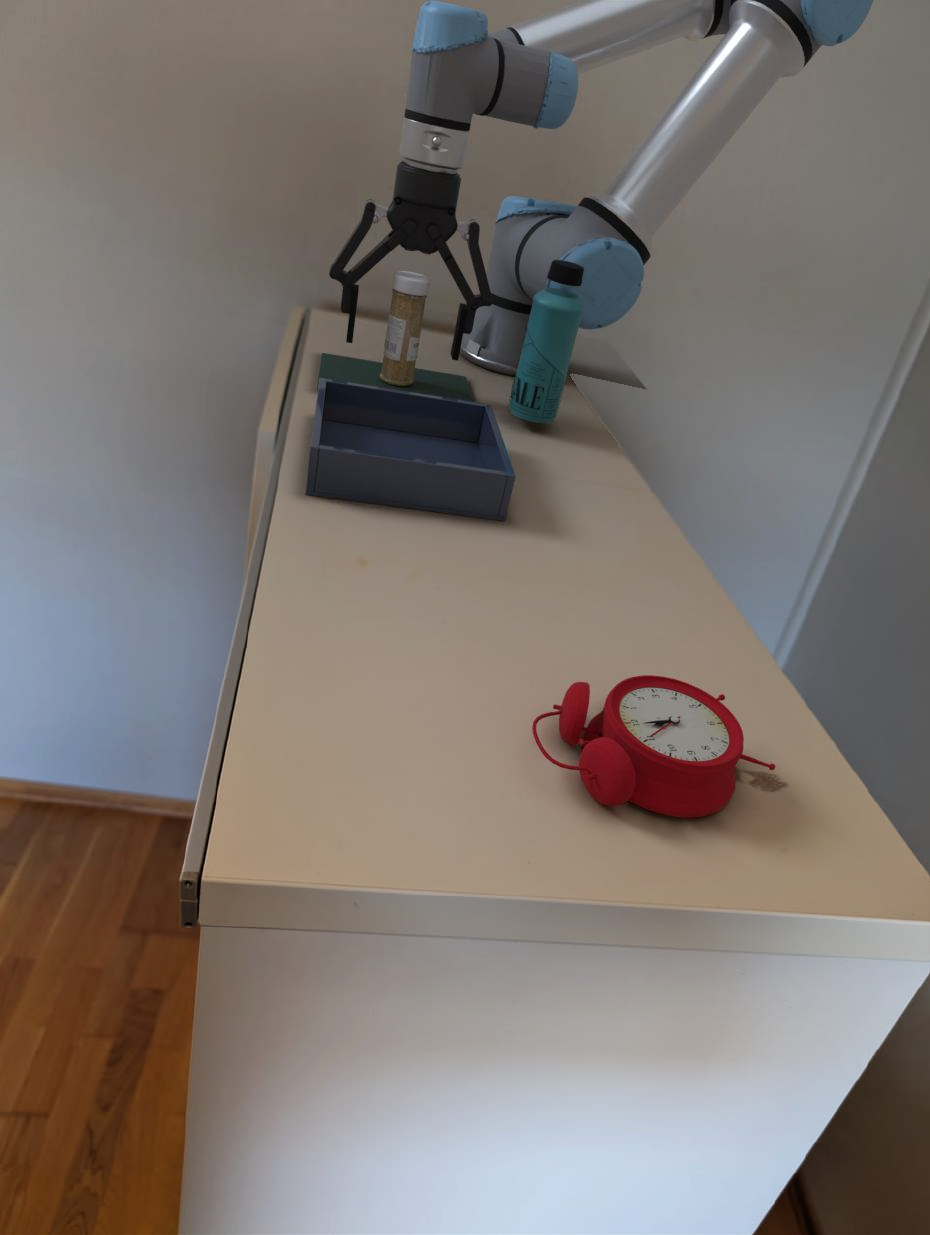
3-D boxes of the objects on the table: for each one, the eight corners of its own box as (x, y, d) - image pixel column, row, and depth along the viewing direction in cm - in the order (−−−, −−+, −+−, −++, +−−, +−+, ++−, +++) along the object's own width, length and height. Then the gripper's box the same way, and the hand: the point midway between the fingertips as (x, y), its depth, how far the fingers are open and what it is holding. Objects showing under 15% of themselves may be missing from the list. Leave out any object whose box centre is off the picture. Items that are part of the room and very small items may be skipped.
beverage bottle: (553, 421, 113) (595, 263, 103) (553, 439, 108) (597, 273, 97) (505, 410, 113) (542, 251, 103) (502, 427, 108) (540, 260, 97)
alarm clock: (798, 776, 54) (603, 738, 48) (743, 843, 57) (552, 816, 51) (721, 674, 62) (546, 631, 56) (676, 738, 65) (505, 703, 59)
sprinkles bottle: (418, 388, 112) (436, 281, 105) (385, 386, 110) (402, 278, 103) (405, 375, 115) (422, 271, 108) (373, 374, 113) (388, 267, 106)
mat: (465, 380, 121) (465, 376, 120) (475, 416, 109) (476, 412, 109) (321, 356, 117) (322, 352, 117) (316, 391, 105) (317, 387, 105)
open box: (482, 444, 102) (491, 404, 99) (505, 521, 85) (516, 476, 83) (315, 419, 98) (319, 377, 95) (305, 494, 82) (310, 446, 79)
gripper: (319, 147, 94) (302, 341, 105) (539, 192, 98) (500, 373, 110) (322, 140, 100) (305, 324, 111) (529, 183, 105) (493, 355, 116)
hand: (402, 348), depth 111 cm, fingers open, 13 cm apart
